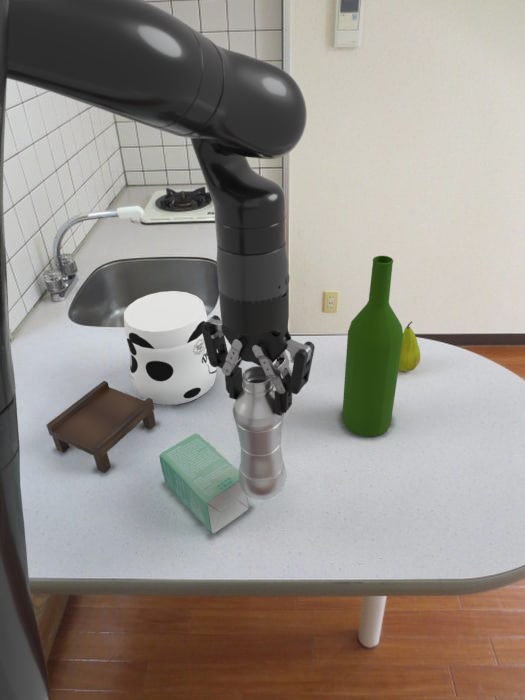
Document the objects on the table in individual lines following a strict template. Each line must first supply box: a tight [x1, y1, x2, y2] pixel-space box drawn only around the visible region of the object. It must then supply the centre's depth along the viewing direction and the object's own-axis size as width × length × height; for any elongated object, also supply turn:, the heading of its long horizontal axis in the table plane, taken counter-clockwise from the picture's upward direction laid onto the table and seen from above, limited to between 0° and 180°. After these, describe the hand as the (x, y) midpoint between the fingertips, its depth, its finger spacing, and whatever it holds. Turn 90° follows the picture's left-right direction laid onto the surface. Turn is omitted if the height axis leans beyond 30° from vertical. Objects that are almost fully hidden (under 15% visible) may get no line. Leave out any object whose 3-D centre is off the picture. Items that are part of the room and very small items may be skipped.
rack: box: [45, 380, 157, 474], centre depth 94 cm, size 14×12×6 cm
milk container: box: [123, 290, 218, 407], centre depth 103 cm, size 17×17×18 cm
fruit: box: [398, 320, 421, 372], centre depth 107 cm, size 6×6×12 cm
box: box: [158, 433, 250, 535], centre depth 82 cm, size 7×14×8 cm, turn 41°
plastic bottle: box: [232, 365, 287, 501], centre depth 68 cm, size 6×7×20 cm
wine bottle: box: [341, 255, 404, 438], centre depth 88 cm, size 9×9×32 cm
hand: (258, 402), depth 65 cm, fingers closed on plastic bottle, 6 cm apart
